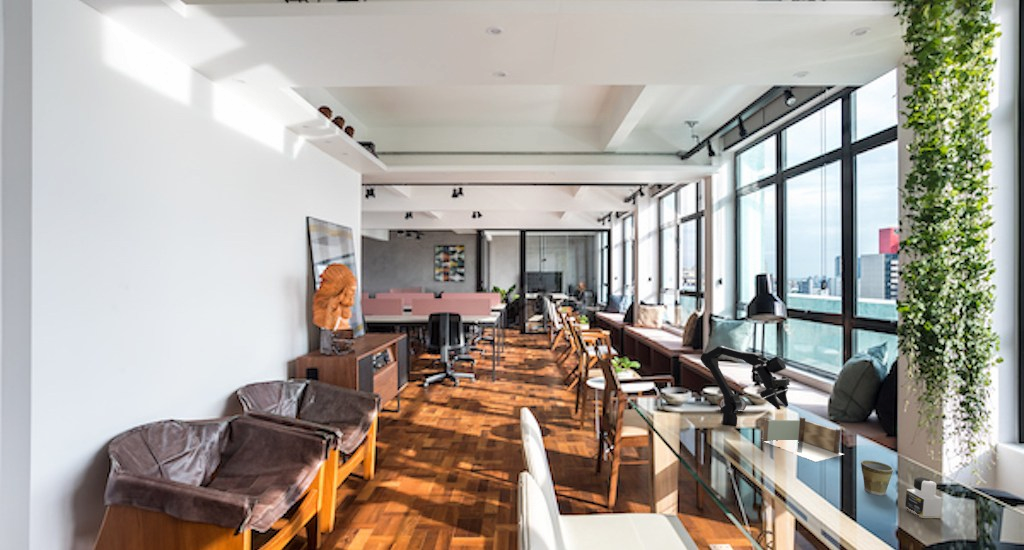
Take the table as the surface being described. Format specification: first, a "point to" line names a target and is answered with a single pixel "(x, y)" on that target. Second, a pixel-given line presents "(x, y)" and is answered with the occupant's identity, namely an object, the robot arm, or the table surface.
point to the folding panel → (781, 430)
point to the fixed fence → (819, 435)
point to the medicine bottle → (924, 498)
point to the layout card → (814, 452)
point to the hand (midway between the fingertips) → (783, 407)
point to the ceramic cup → (876, 476)
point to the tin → (721, 403)
